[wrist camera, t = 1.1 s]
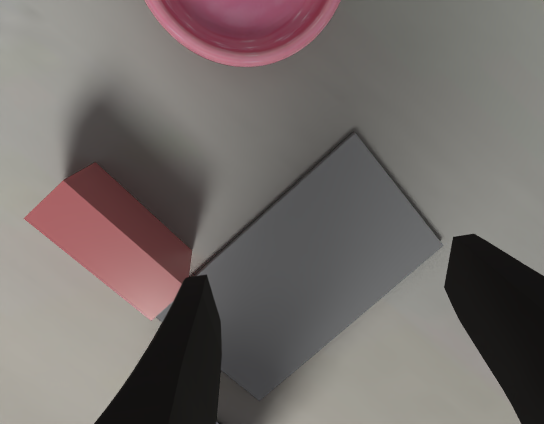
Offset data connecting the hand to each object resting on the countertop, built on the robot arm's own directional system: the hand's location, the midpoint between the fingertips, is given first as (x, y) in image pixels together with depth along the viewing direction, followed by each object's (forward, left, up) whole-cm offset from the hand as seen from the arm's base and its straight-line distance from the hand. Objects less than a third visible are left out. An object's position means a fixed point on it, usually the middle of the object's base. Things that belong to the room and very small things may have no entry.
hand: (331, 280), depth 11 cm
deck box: (-9, +4, -17) cm, 20 cm away
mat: (-3, -8, -17) cm, 19 cm away
